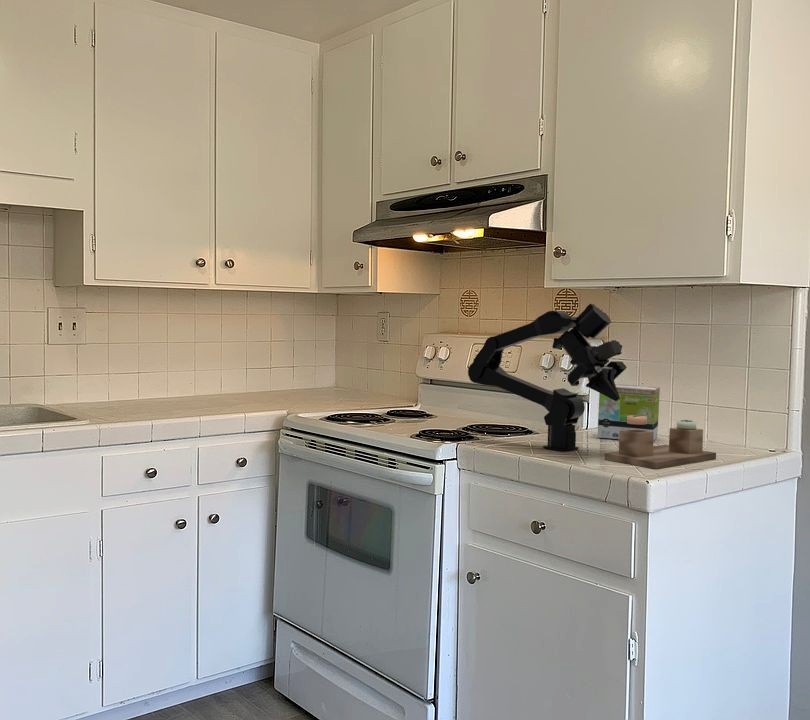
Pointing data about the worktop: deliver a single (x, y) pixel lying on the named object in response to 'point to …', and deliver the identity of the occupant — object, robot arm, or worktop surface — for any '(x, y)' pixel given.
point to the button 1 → (637, 419)
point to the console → (660, 448)
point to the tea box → (628, 410)
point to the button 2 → (686, 424)
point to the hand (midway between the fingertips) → (618, 399)
